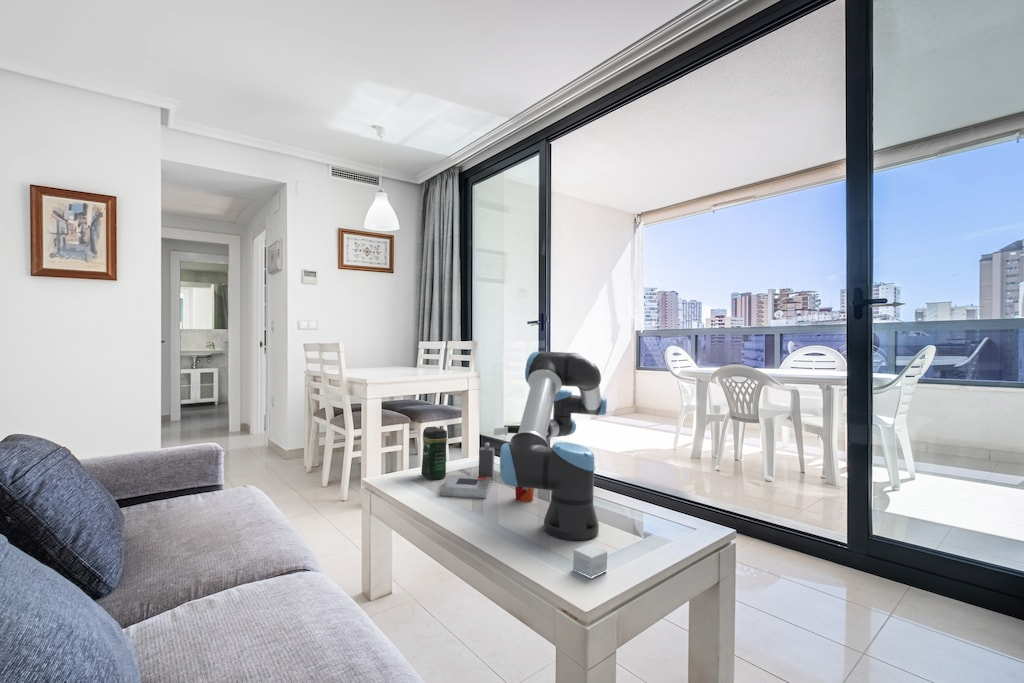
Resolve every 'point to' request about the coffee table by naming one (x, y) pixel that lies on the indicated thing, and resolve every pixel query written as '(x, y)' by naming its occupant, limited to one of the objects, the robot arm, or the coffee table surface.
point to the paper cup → (524, 494)
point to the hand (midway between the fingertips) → (505, 434)
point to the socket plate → (466, 486)
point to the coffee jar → (434, 453)
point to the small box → (589, 560)
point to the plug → (486, 461)
